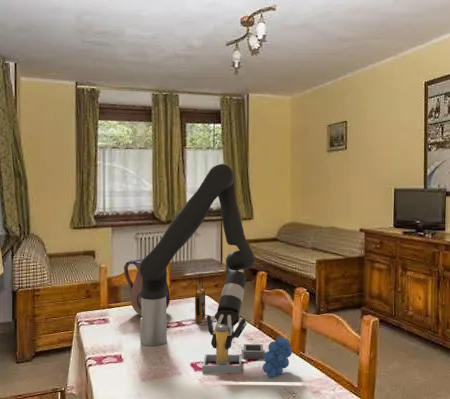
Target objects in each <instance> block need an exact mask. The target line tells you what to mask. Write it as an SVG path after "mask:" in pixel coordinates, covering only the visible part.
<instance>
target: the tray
mask: <svg viewBox="0 0 450 399" xmlns="http://www.w3.org/2000/svg"><path fill="white" fill-rule="evenodd" d="M228 359H229V362H237V363H238V365H235V364H234V365H233V364H231V365H230V364H228V365H217V364H207V362H216V353H212V354H211V353H209V354H207V353H205V354H204V358H203V361H202V365H201V366H202V368H201V370H202V371H201V372H202V373H220V374H221V373H225V374H226V373H227V374H228V373H229V374H231V373H232V374H237V373H238V374H241V373H242V354H228Z"/></svg>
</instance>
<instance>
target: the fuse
mask: <svg viewBox="0 0 450 399" xmlns="http://www.w3.org/2000/svg"><path fill="white" fill-rule="evenodd" d="M215 327H216V348H215V349H216V350H215V354H216V361H215V365H230V364H229V363H230V361H229V359H228V355H229V349H228V350H226V349H225V343H226V339H227V336H228V325H226V324H218V325H216V324H215Z"/></svg>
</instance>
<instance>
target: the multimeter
mask: <svg viewBox="0 0 450 399" xmlns="http://www.w3.org/2000/svg"><path fill="white" fill-rule="evenodd" d="M203 276H204V275H203V274H202V273H199V274H198V276H196V278H195V281H197V279H198V281H199V282H198V283H199V284H198V285H199V286H198V285H195V292H194V310H195V311H194V315H195V317H194V318H195V319H194V320H195V321H194V322H195V323H197V325H199V326H208V324H207V323H205V324H200V323H203V321H204V319H205V318H206V317H207V316H210V317H211V316H212V315H209V314H206V288H204V286H203V284H204V283H203V282H204V281H203V280H204V277H203ZM201 277H202V278H201ZM197 286H198V288H197ZM215 322H216V323H217V321H216V319H215V320H214V323H215Z"/></svg>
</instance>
